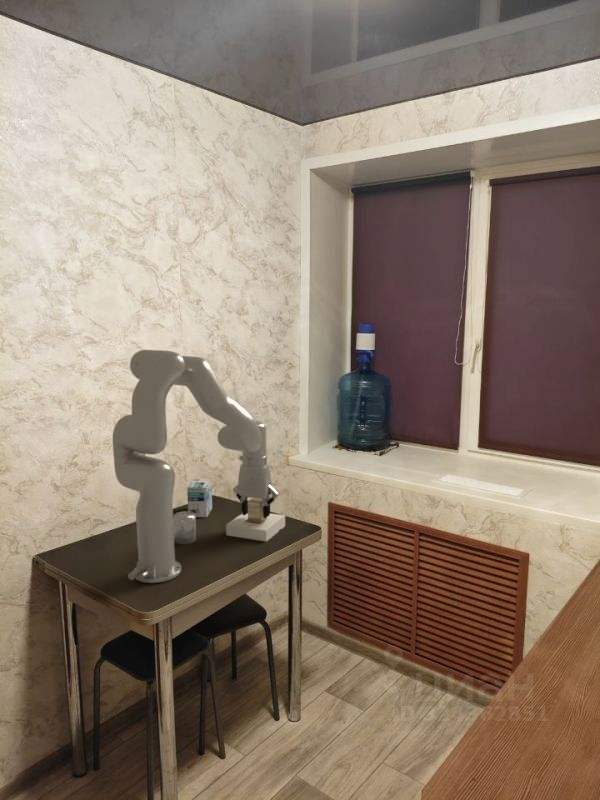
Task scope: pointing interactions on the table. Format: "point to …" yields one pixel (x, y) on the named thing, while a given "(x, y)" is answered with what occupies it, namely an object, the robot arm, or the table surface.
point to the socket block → (255, 527)
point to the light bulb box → (200, 497)
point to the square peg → (255, 511)
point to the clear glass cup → (184, 527)
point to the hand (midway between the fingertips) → (256, 514)
